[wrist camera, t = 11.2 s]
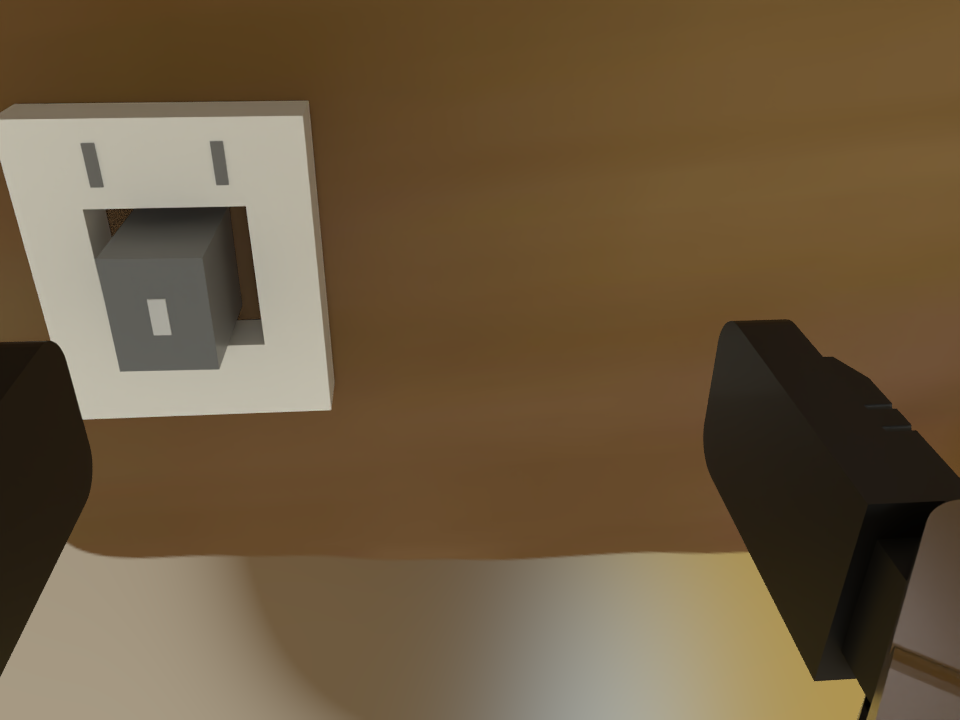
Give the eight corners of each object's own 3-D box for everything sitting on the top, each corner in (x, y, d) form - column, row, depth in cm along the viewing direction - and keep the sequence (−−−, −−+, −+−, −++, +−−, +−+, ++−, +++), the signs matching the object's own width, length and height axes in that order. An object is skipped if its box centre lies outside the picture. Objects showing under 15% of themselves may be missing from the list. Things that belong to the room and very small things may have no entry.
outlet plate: (14, 103, 35) (-13, 120, 33) (308, 100, 36) (302, 116, 34) (89, 391, 42) (72, 421, 40) (334, 382, 43) (330, 411, 41)
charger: (136, 205, 38) (94, 260, 33) (228, 204, 38) (201, 258, 33) (155, 306, 40) (119, 372, 35) (242, 304, 41) (218, 370, 35)
